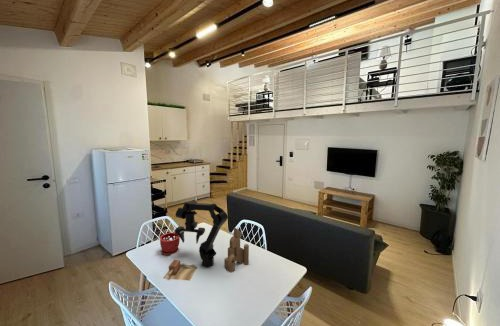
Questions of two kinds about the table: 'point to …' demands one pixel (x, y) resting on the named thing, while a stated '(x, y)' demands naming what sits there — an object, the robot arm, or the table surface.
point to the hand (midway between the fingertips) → (190, 242)
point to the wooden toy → (236, 252)
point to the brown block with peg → (174, 267)
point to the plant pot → (169, 243)
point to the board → (183, 272)
